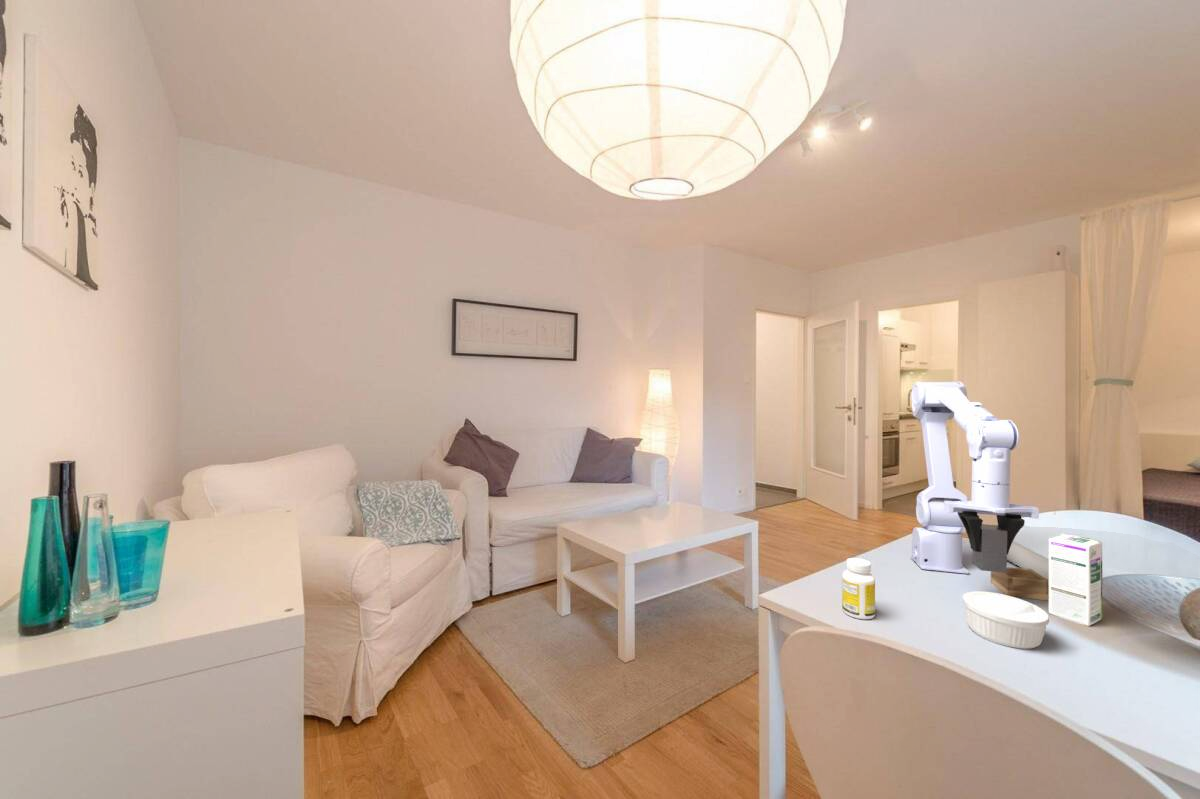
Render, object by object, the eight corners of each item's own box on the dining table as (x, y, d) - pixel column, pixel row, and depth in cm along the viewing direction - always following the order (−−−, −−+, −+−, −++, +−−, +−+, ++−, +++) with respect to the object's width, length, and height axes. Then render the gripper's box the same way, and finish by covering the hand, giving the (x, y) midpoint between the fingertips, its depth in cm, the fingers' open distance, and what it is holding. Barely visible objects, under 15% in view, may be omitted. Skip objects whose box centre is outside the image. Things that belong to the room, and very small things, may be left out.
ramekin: (1057, 661, 73) (1057, 627, 73) (966, 640, 79) (966, 609, 79) (1038, 630, 82) (1039, 600, 82) (958, 613, 88) (959, 586, 88)
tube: (1103, 583, 93) (1020, 541, 117) (1072, 572, 94) (996, 533, 118) (1092, 607, 94) (1011, 561, 118) (1062, 596, 95) (988, 552, 119)
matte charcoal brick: (981, 570, 91) (982, 529, 91) (971, 562, 95) (972, 523, 94) (1006, 572, 89) (1007, 531, 89) (996, 565, 93) (996, 525, 93)
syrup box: (1090, 627, 83) (1092, 546, 83) (1046, 613, 88) (1048, 536, 88) (1102, 620, 86) (1104, 541, 85) (1059, 606, 91) (1061, 532, 91)
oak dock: (1007, 596, 96) (1007, 577, 96) (990, 582, 102) (990, 565, 102) (1051, 600, 94) (1051, 582, 93) (1030, 586, 100) (1031, 569, 100)
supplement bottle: (871, 609, 90) (872, 558, 90) (878, 622, 85) (878, 568, 85) (840, 604, 92) (840, 555, 92) (844, 617, 87) (845, 565, 86)
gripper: (954, 483, 90) (953, 554, 90) (1049, 488, 86) (1047, 562, 86) (940, 477, 97) (939, 542, 97) (1027, 481, 92) (1026, 550, 93)
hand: (989, 551), depth 92 cm, fingers closed on matte charcoal brick, 4 cm apart
